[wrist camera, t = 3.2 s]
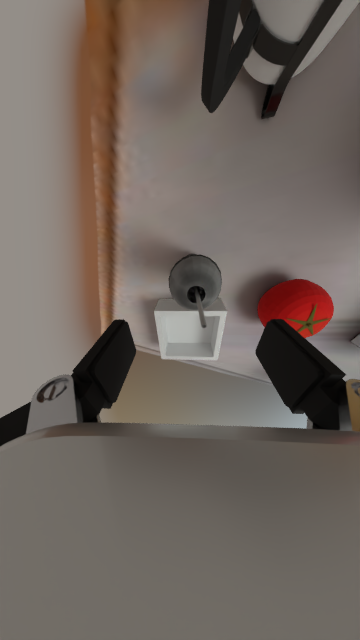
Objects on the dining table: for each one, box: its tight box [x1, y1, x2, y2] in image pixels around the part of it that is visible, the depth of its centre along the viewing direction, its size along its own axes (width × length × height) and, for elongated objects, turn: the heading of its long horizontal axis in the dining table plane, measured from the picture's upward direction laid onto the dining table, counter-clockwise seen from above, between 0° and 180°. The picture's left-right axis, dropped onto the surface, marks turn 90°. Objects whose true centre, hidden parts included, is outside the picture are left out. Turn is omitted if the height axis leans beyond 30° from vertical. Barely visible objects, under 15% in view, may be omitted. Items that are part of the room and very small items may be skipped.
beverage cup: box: [169, 254, 222, 328], centre depth 19 cm, size 7×7×20 cm
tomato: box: [257, 279, 334, 338], centre depth 27 cm, size 11×12×10 cm
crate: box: [154, 299, 227, 360], centre depth 34 cm, size 15×15×6 cm
